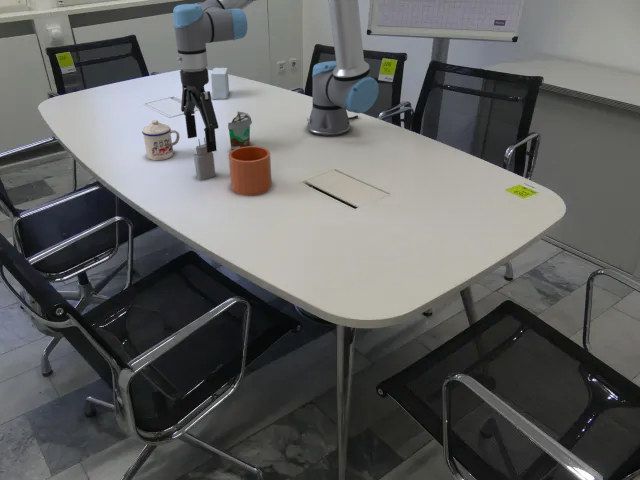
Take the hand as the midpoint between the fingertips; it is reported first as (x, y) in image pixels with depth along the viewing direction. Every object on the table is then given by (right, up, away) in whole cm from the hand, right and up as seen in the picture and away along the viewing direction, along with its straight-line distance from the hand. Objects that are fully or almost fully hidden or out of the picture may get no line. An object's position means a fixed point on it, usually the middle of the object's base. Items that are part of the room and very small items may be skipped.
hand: (201, 144), depth 156 cm
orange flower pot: (+15, -12, -1) cm, 19 cm away
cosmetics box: (-2, +38, +75) cm, 84 cm away
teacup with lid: (-15, +1, +21) cm, 26 cm away
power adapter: (0, -9, +6) cm, 10 cm away
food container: (+11, +5, +25) cm, 28 cm away
